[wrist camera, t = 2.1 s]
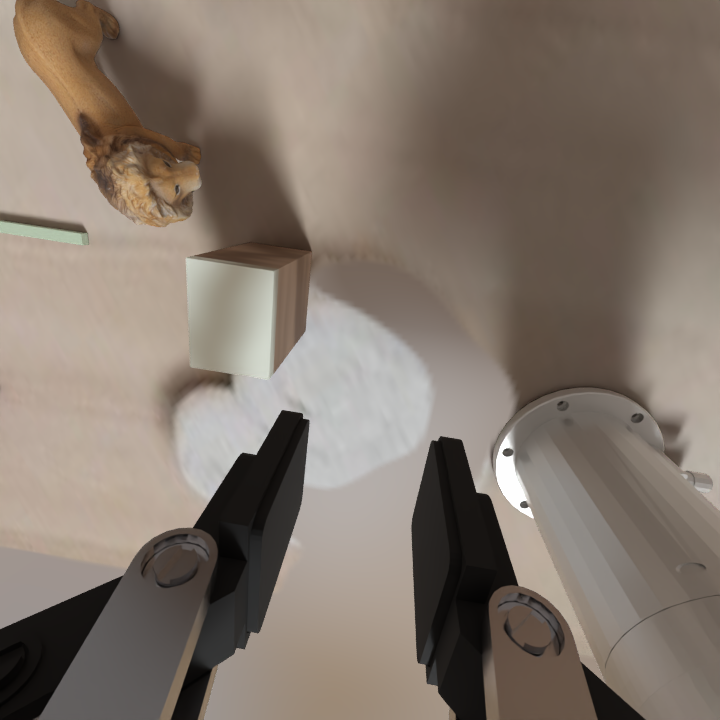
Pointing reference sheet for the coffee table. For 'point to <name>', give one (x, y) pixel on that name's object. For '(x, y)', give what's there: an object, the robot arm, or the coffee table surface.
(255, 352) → the walnut block
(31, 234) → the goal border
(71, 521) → the coffee table surface
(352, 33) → the coffee table surface
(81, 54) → the lion figurine
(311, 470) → the coffee table surface
